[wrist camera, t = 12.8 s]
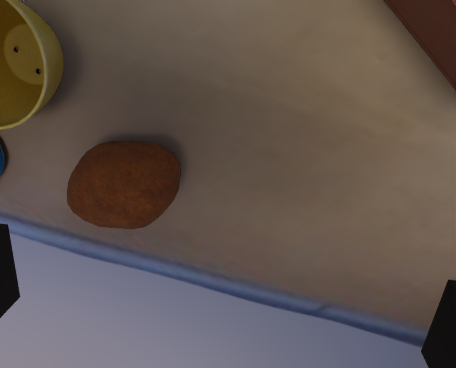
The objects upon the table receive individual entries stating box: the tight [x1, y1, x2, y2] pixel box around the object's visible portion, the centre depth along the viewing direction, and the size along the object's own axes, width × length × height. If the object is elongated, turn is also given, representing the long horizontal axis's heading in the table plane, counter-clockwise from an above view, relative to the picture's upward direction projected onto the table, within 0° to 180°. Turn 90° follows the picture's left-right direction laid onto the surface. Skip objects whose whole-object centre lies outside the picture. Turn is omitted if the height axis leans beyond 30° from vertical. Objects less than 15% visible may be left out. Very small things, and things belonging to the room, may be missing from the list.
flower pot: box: [0, 0, 64, 130], centre depth 29 cm, size 10×10×7 cm
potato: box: [67, 141, 181, 229], centre depth 33 cm, size 8×11×8 cm
